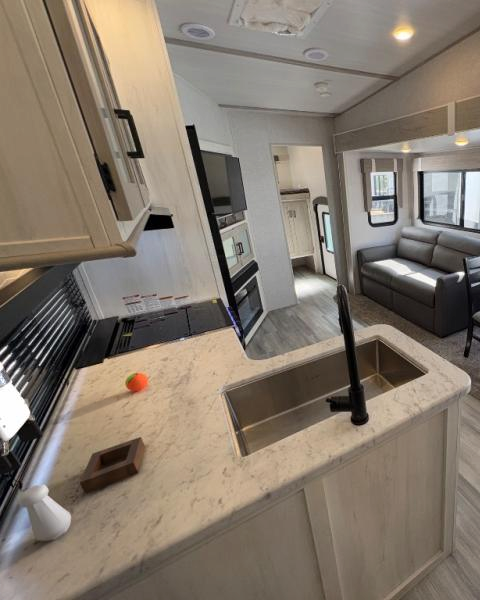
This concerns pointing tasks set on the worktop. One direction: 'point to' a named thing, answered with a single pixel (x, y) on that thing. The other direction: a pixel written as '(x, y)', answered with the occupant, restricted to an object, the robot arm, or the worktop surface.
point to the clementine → (136, 382)
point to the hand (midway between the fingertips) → (22, 453)
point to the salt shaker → (44, 513)
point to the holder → (102, 477)
